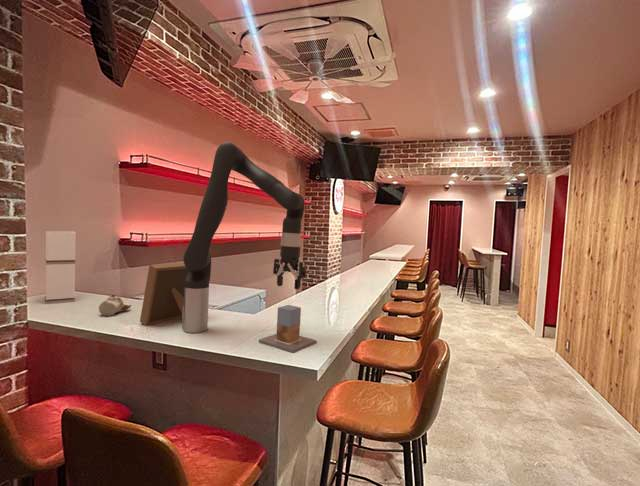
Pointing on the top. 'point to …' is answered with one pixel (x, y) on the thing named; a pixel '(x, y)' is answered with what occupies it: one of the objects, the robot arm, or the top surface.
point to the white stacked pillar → (60, 267)
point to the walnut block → (288, 333)
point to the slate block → (288, 315)
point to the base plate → (289, 347)
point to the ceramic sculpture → (112, 306)
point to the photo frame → (164, 293)
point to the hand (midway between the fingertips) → (288, 287)
